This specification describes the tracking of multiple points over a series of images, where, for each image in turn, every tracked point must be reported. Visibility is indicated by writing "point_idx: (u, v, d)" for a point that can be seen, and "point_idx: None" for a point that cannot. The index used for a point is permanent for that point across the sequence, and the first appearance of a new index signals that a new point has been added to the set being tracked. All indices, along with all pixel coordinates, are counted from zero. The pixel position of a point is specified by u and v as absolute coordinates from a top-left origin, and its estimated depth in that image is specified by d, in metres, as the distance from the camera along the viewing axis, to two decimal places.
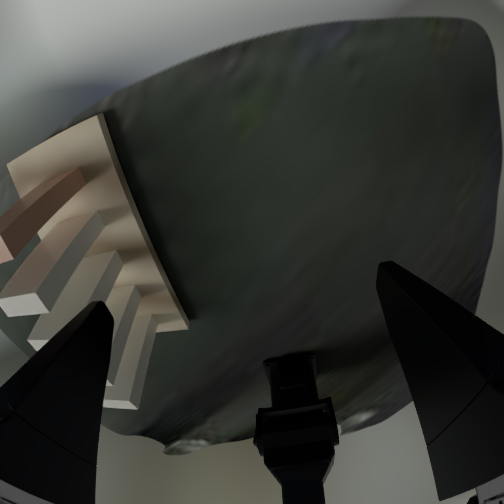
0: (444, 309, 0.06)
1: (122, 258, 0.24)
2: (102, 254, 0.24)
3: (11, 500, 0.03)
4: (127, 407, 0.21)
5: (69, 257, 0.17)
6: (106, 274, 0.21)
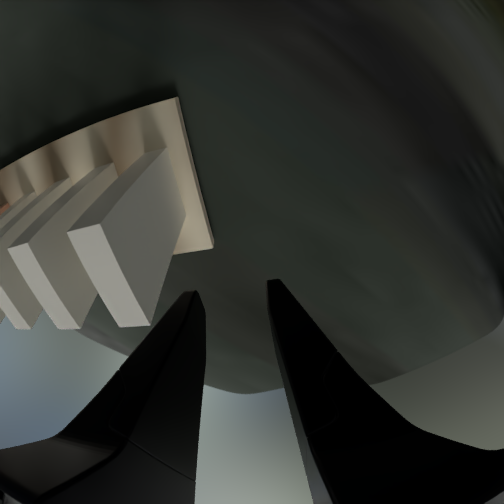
0: (301, 340, 0.06)
1: (62, 177, 0.18)
2: None
3: None
4: (104, 248, 0.10)
5: None
6: (36, 198, 0.15)
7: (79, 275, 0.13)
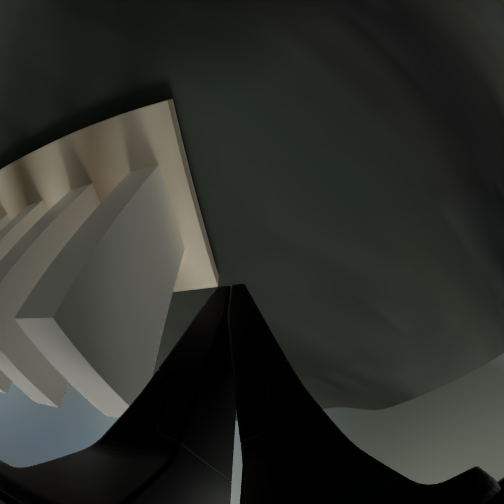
0: (252, 347, 0.06)
1: (35, 200, 0.14)
2: None
3: None
4: (66, 346, 0.06)
5: None
6: (4, 229, 0.12)
7: None
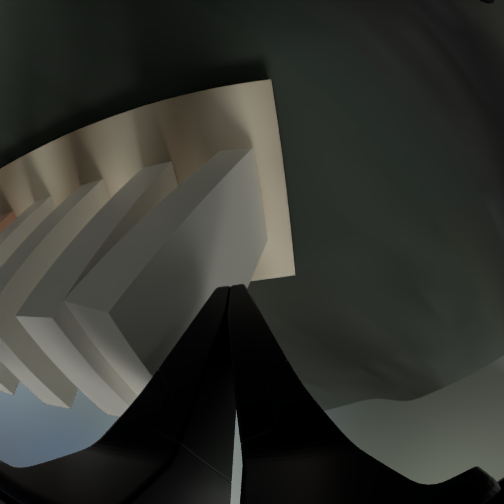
0: (252, 347, 0.06)
1: (92, 178, 0.14)
2: None
3: None
4: (120, 341, 0.06)
5: None
6: (58, 208, 0.11)
7: None
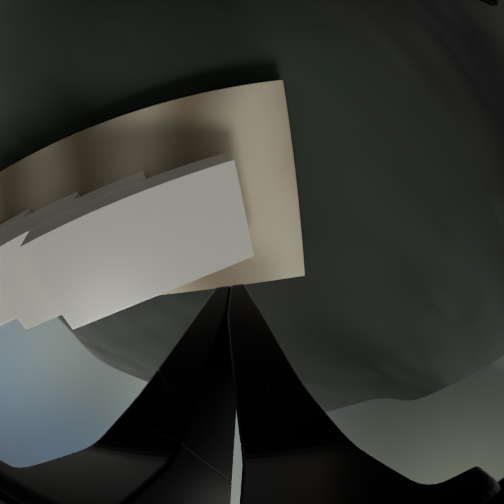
0: (252, 347, 0.06)
1: (100, 179, 0.14)
2: None
3: None
4: None
5: None
6: (34, 213, 0.13)
7: (35, 296, 0.12)
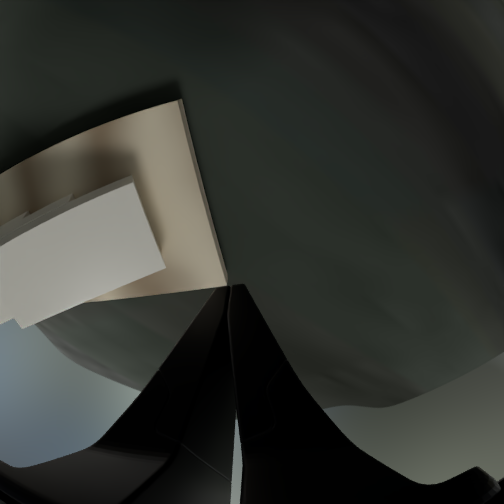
0: (252, 346, 0.06)
1: (43, 200, 0.14)
2: None
3: None
4: None
5: None
6: None
7: None
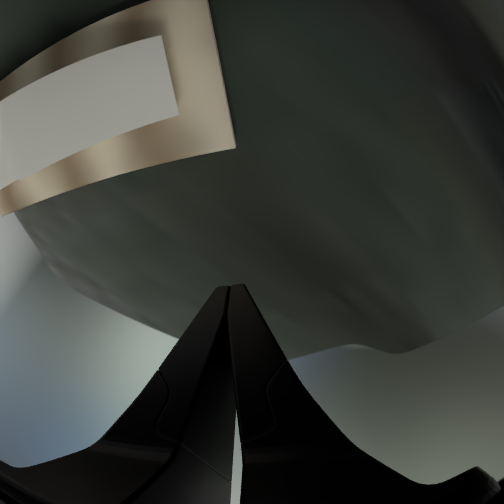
0: (252, 346, 0.06)
1: None
2: None
3: None
4: (2, 118, 0.10)
5: None
6: None
7: None
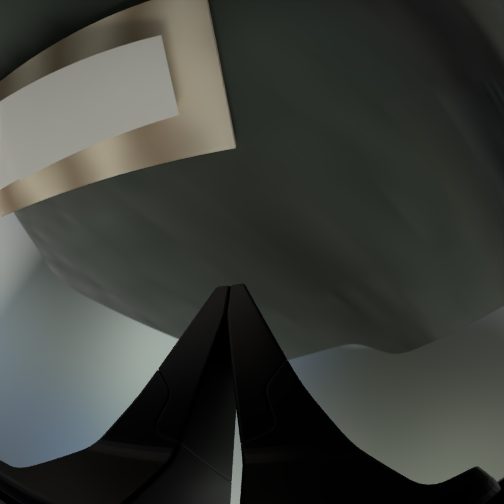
0: (252, 346, 0.06)
1: None
2: None
3: None
4: (2, 118, 0.10)
5: None
6: None
7: None
